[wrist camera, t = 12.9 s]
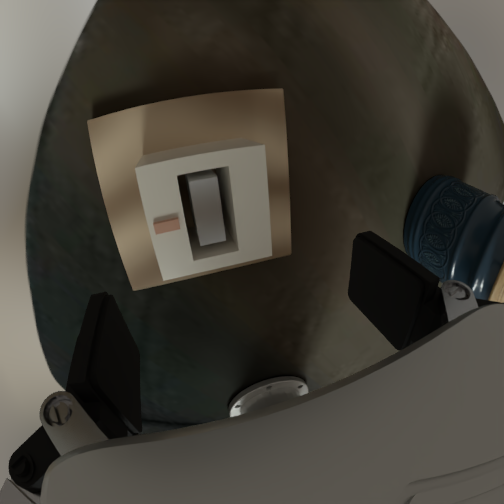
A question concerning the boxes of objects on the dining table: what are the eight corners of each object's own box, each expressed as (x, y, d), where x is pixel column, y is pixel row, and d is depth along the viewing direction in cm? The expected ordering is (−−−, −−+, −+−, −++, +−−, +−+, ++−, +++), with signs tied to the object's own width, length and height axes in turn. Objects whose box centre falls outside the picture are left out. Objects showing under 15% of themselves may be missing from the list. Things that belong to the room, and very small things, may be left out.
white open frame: (249, 226, 22) (273, 258, 17) (162, 245, 20) (163, 283, 16) (241, 137, 18) (266, 145, 14) (142, 155, 17) (134, 168, 12)
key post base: (284, 246, 26) (315, 281, 21) (134, 281, 23) (130, 327, 18) (275, 89, 19) (313, 83, 14) (92, 120, 16) (65, 122, 11)
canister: (405, 178, 26) (540, 251, 12) (460, 168, 29) (562, 218, 14) (395, 273, 33) (487, 359, 18) (449, 247, 35) (529, 307, 20)
